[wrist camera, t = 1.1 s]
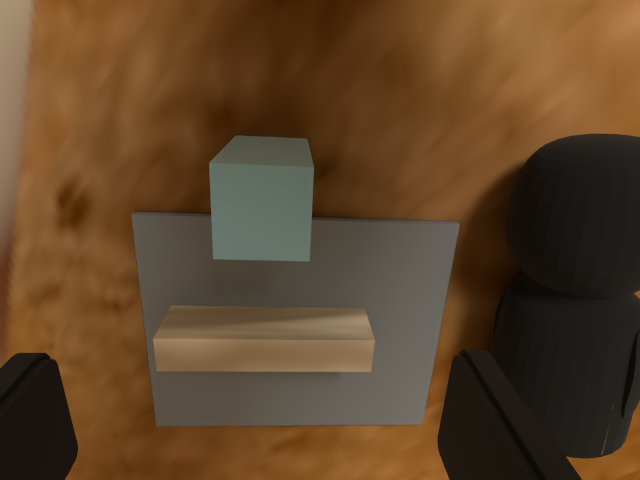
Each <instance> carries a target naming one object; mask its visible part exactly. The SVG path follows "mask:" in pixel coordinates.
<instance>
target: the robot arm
mask: <svg viewBox="0 0 640 480" xmlns="http://www.w3.org/2000/svg"><path fill="white" fill-rule="evenodd" d="M438 449H439V453H440V456H441V458H442V461H443V464H444V466H445V469H446V471H447V474H448V477H449V479H450V480H582V479H581V478H580V476H579V475H578V473H577V472H576V471H575V469H574V468H573V466H572V465H571V463H570V462H569V461H568V459H567V458H566V456H565V455H564V454H563V452H562V451H561V449H560V448H559V447H558V445H557V444H556V442H555V441H554V439H553V438H552V437H551V435H550V434H549V432H548V431H547V430H546V428H545V427H544V425H543V424H542V423H541V421H540V420H539V418H538V417H537V415H536V414H535V413H534V412H533V411H532V410H531V409H530V408H529V407H527V406H526V404H525V403H524V402H523V400H522V399H521V397H520V396H519V394H518V393H517V392H516V390H515V389H514V387H513V386H512V384H511V383H510V382H509V380H508V379H507V377H506V376H505V374H504V373H503V372H502V370H501V369H500V367H499V366H498V364H497V363H496V362H495V360H494V359H493V357H492V356H491V354H490V353H489V352H488V351H487V350H462V351H461V352H460V355H459V356H455V357H454V358H453V361H452V365H451V371H450V376H449V381H448V386H447V392H446V397H445V402H444V407H443V412H442V418H441V423H440V428H439V433H438ZM77 452H78V444H77V440H76V436H75V432H74V428H73V424H72V420H71V416H70V412H69V408H68V404H67V400H66V396H65V392H64V388H63V384H62V380H61V376H60V372H59V368H58V364H57V362H56V361H55V360H53V359H50V356H49V355H48V354H46V353H18V354H15V355H14V356H12V357H11V358H10V359H9V360H8V361H7V362H6V363H5V364H4V365H3V366H2V367H1V368H0V480H65V478H66V477H67V475H68V473H69V471H70V469H71V468H72V466H73V464H74V462H75V460H76V457H77Z"/></svg>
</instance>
